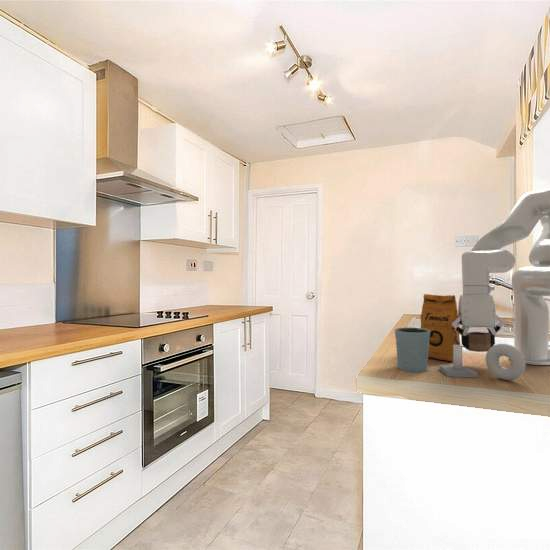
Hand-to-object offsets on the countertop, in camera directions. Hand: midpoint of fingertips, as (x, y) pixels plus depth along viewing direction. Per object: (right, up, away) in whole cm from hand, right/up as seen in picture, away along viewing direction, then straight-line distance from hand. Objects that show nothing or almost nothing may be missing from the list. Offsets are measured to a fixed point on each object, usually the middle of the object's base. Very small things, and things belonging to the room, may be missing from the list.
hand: (478, 346), depth 121 cm
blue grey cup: (-22, -6, -3) cm, 23 cm away
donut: (-1, -6, -15) cm, 16 cm away
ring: (0, -1, 0) cm, 1 cm away
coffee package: (-7, -6, +11) cm, 15 cm away
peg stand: (-11, -6, -8) cm, 15 cm away
